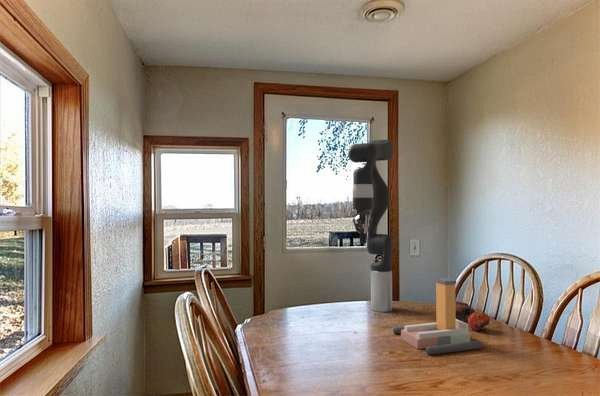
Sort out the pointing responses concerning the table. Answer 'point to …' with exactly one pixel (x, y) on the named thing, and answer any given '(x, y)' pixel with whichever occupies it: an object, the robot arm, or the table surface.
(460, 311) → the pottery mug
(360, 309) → the table surface
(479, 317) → the pomegranate
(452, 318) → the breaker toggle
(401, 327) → the cord bundle
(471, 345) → the dark grey bar
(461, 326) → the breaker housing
